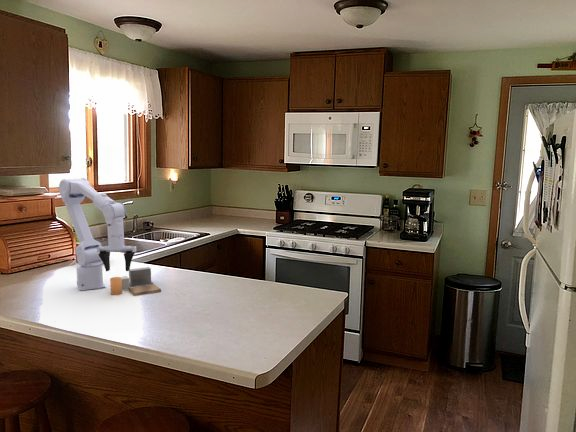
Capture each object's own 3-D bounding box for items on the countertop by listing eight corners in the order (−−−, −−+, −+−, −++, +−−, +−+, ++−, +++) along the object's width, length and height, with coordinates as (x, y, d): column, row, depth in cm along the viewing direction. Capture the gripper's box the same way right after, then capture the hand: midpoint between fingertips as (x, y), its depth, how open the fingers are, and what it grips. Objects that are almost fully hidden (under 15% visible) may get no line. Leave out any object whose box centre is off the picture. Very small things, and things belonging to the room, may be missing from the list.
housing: (130, 287, 189) (129, 271, 189) (127, 284, 193) (127, 269, 192) (153, 283, 194) (152, 268, 193) (150, 281, 198) (149, 266, 197)
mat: (134, 295, 177) (133, 293, 177) (128, 290, 185) (128, 287, 185) (160, 291, 182) (160, 289, 182) (154, 286, 190) (154, 284, 190)
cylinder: (112, 295, 178) (111, 280, 177) (110, 293, 181) (109, 277, 180) (123, 294, 180) (122, 278, 179) (121, 291, 183) (120, 276, 182)
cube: (118, 291, 184) (118, 279, 183) (116, 288, 187) (116, 277, 187) (129, 289, 186) (129, 278, 185) (127, 287, 189) (126, 276, 189)
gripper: (138, 233, 183) (140, 268, 185) (101, 233, 184) (103, 268, 185) (132, 236, 176) (133, 272, 178) (93, 236, 177) (95, 272, 178)
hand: (117, 270), depth 181 cm, fingers open, 7 cm apart
